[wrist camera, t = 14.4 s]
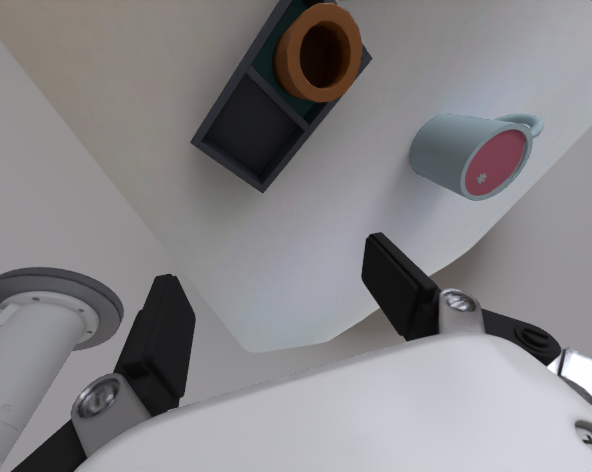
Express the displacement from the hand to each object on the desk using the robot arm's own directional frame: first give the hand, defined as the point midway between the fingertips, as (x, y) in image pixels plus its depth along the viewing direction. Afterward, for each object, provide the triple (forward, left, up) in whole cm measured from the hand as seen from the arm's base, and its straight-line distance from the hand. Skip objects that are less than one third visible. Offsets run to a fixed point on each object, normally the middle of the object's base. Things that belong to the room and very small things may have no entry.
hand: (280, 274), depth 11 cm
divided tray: (-2, +7, -24) cm, 25 cm away
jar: (-2, +11, -23) cm, 25 cm away
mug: (+22, +21, -24) cm, 39 cm away
